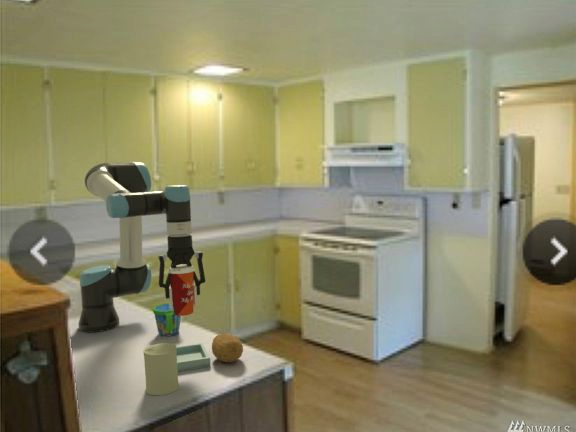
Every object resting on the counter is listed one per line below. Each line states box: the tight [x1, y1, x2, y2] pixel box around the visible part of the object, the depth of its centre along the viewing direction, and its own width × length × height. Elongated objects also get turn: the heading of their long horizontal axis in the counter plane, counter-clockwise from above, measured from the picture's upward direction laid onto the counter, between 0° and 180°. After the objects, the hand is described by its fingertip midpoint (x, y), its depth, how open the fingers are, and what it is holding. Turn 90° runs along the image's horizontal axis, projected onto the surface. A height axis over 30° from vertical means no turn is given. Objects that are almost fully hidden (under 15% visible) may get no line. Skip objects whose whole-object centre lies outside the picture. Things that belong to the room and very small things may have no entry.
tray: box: [176, 342, 211, 373], centre depth 163 cm, size 14×13×3 cm
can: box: [143, 342, 180, 396], centre depth 144 cm, size 9×9×12 cm
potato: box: [211, 332, 244, 363], centre depth 163 cm, size 10×14×8 cm
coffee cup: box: [167, 264, 196, 317], centre depth 161 cm, size 8×8×15 cm
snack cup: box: [152, 302, 182, 337], centre depth 190 cm, size 16×10×10 cm
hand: (183, 306), depth 161 cm, fingers closed on coffee cup, 7 cm apart
